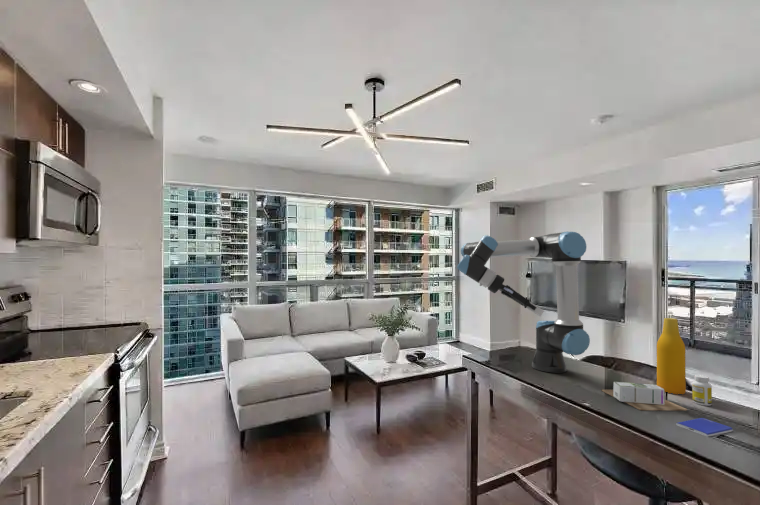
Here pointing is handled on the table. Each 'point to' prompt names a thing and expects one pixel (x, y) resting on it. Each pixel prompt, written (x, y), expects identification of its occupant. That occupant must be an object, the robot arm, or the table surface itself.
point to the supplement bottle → (702, 390)
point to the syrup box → (639, 393)
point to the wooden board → (652, 405)
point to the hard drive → (705, 427)
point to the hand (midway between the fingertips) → (541, 313)
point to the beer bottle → (671, 359)
